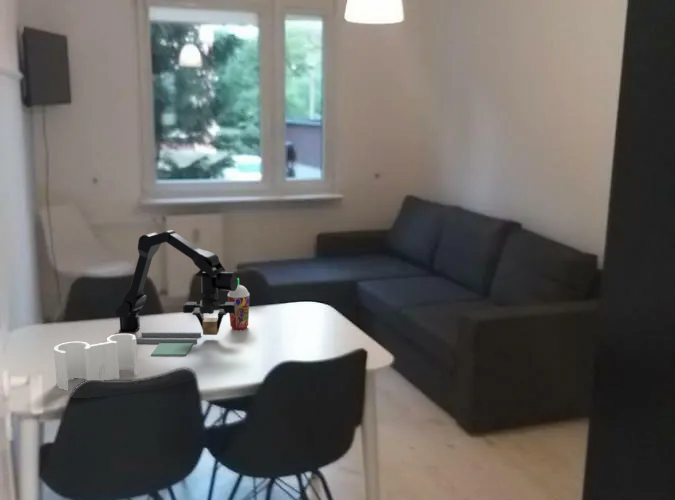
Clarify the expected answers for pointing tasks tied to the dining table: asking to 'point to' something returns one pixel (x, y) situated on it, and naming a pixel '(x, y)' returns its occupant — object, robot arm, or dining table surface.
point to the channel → (168, 340)
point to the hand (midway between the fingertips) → (210, 330)
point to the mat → (172, 349)
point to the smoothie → (239, 308)
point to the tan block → (210, 326)
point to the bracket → (95, 359)
